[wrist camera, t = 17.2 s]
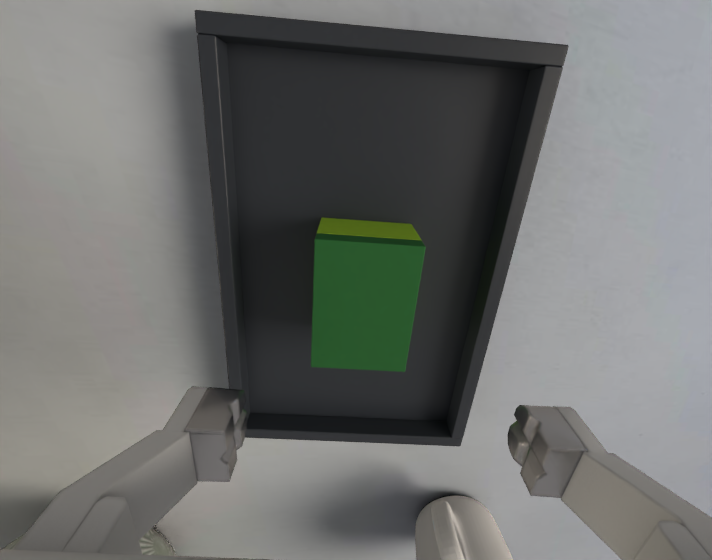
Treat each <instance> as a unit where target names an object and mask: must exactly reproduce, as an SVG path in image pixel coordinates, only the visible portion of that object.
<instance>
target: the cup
mask: <svg viewBox="0 0 712 560" xmlns="http://www.w3.org/2000/svg"><path fill="white" fill-rule="evenodd" d="M415 544H416V559H417V560H513V558H512V556H511V554H510V551H509V549H508V547H507V545H506V543H505V541H504V539H503V537H502V534H501V532H500V530H499V528H498V526H497V524H496V522H495V520H494V518H493V517H492V515H491V514H490V512H489V511H488V510H487V508H486V507H485V506H484V505H483V504H481V503H480V502H478V501H477V500H475V499H472V498H469V497H465V496H447V497H442V498H439V499H437V500H434V501H432V502H431V503H429V504H428V505H427V506H425V507H424V508H423V509H422V511H421V512H420V514H419V516H418V518H417V521H416V527H415Z"/></svg>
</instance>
